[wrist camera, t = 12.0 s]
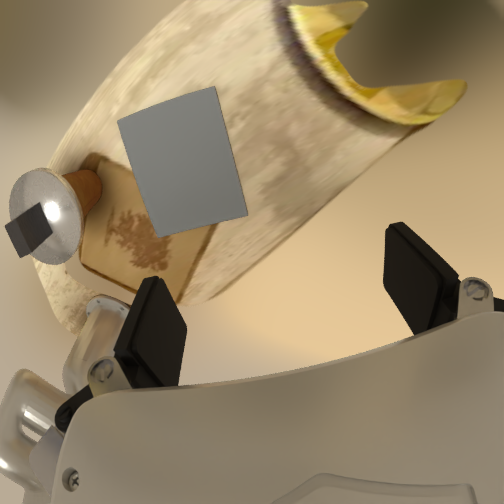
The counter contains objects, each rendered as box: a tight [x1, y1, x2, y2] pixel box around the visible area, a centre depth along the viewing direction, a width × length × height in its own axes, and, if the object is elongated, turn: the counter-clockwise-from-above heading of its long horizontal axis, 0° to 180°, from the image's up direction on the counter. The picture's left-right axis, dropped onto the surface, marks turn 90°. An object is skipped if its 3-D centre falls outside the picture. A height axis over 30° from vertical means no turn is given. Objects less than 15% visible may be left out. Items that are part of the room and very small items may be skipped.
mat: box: [117, 86, 248, 238], centre depth 37 cm, size 20×15×1 cm
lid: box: [5, 168, 84, 265], centre depth 24 cm, size 13×13×6 cm
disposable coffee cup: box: [62, 169, 102, 218], centre depth 32 cm, size 10×10×12 cm
